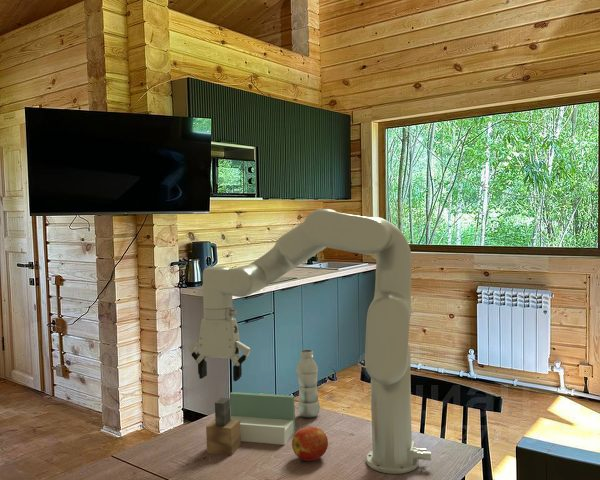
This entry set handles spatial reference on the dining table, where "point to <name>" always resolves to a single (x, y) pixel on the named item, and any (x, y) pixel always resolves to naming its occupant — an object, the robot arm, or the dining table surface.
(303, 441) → the apple
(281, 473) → the dining table surface
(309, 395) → the plastic bottle
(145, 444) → the dining table surface
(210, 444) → the tan grey tall block
